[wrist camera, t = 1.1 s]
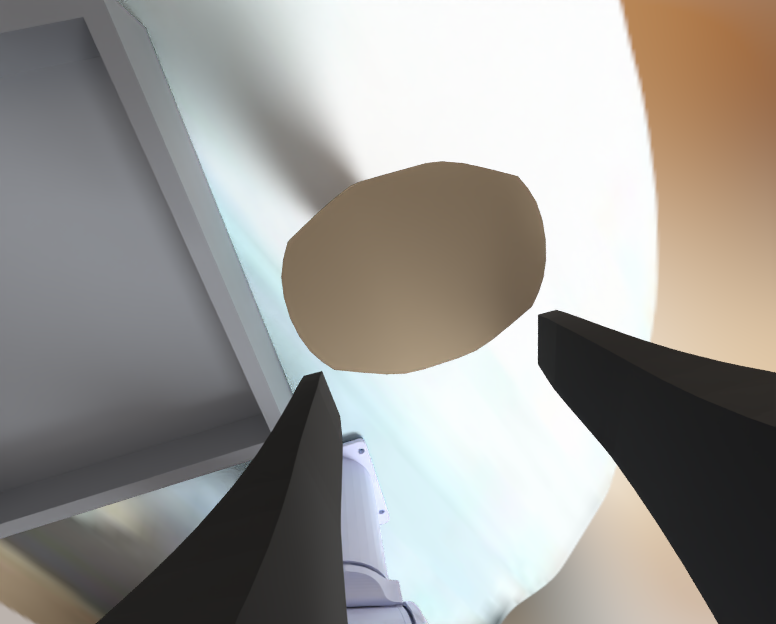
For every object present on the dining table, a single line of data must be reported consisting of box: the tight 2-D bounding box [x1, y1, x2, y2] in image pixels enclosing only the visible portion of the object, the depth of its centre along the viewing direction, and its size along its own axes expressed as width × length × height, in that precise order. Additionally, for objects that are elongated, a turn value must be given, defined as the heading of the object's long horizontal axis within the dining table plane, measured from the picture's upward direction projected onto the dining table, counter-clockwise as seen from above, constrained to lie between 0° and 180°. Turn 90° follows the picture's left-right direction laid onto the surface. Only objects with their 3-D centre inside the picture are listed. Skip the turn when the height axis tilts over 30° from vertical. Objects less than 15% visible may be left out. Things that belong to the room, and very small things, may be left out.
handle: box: [281, 161, 546, 374], centre depth 15 cm, size 5×6×15 cm
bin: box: [0, 0, 293, 539], centre depth 18 cm, size 24×24×4 cm
